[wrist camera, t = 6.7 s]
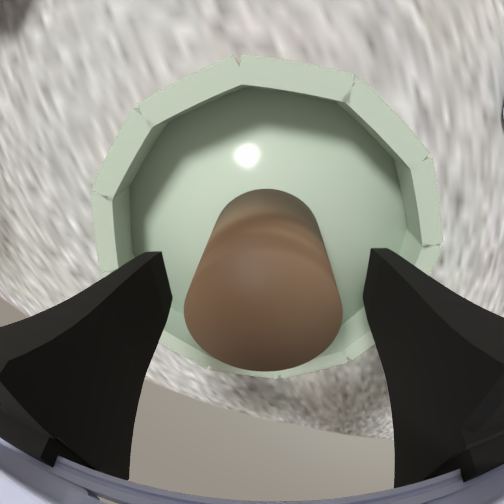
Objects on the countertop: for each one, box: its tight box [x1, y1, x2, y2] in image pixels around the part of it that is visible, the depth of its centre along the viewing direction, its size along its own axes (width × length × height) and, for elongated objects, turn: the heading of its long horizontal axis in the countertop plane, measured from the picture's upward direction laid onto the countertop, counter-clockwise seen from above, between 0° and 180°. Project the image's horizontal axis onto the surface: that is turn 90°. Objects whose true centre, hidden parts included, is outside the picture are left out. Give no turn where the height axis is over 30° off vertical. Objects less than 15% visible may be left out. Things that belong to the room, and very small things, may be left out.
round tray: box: [91, 54, 443, 379], centre depth 12 cm, size 14×14×2 cm
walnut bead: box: [184, 189, 343, 372], centre depth 10 cm, size 4×4×5 cm
